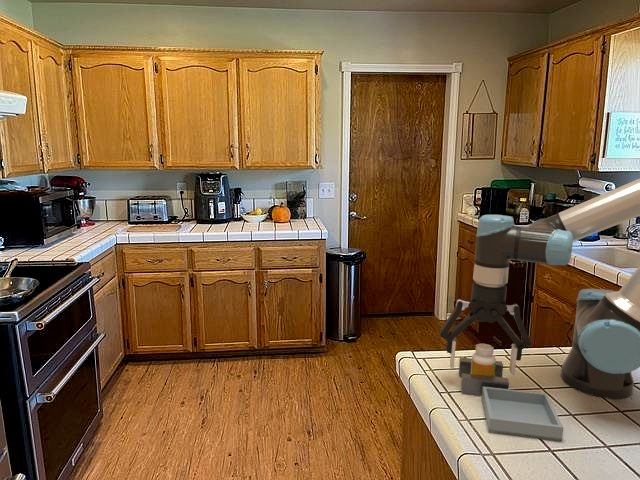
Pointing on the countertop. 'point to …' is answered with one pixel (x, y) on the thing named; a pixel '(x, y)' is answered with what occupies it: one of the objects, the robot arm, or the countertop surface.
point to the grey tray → (521, 414)
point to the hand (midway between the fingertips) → (481, 369)
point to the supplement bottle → (483, 361)
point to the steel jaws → (480, 378)
